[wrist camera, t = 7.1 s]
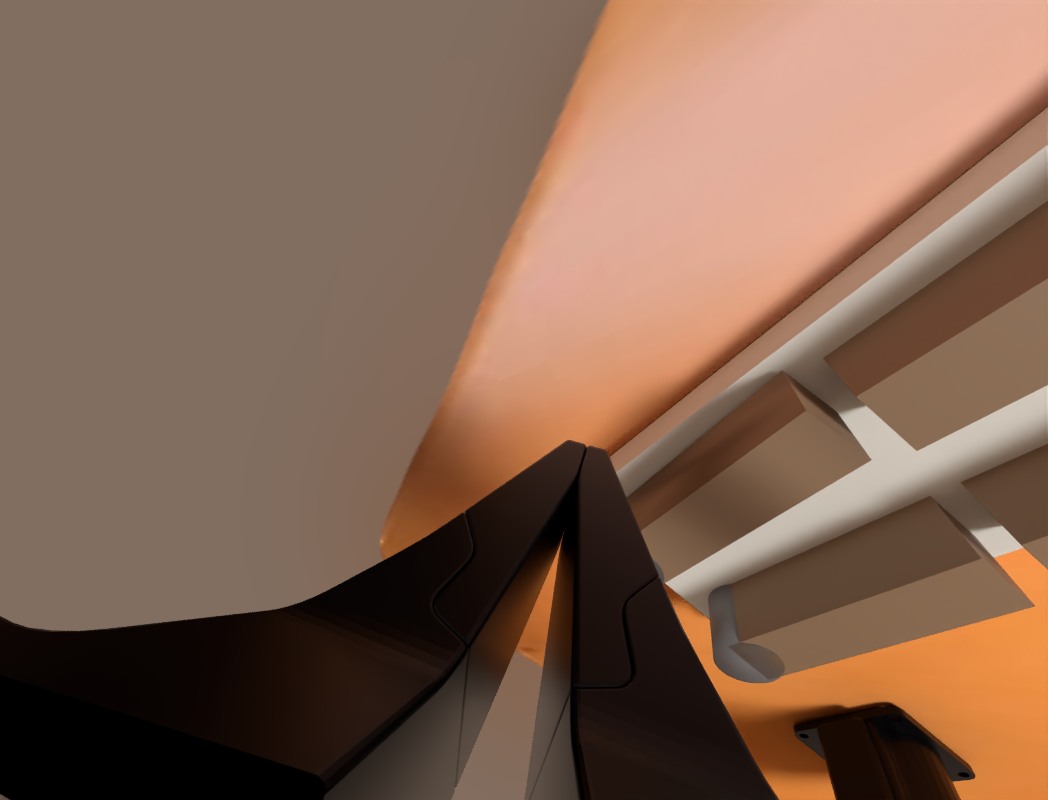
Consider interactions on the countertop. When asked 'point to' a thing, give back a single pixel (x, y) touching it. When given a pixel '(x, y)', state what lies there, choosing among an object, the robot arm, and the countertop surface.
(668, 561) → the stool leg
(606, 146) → the countertop surface
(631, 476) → the tray of grey blocks
